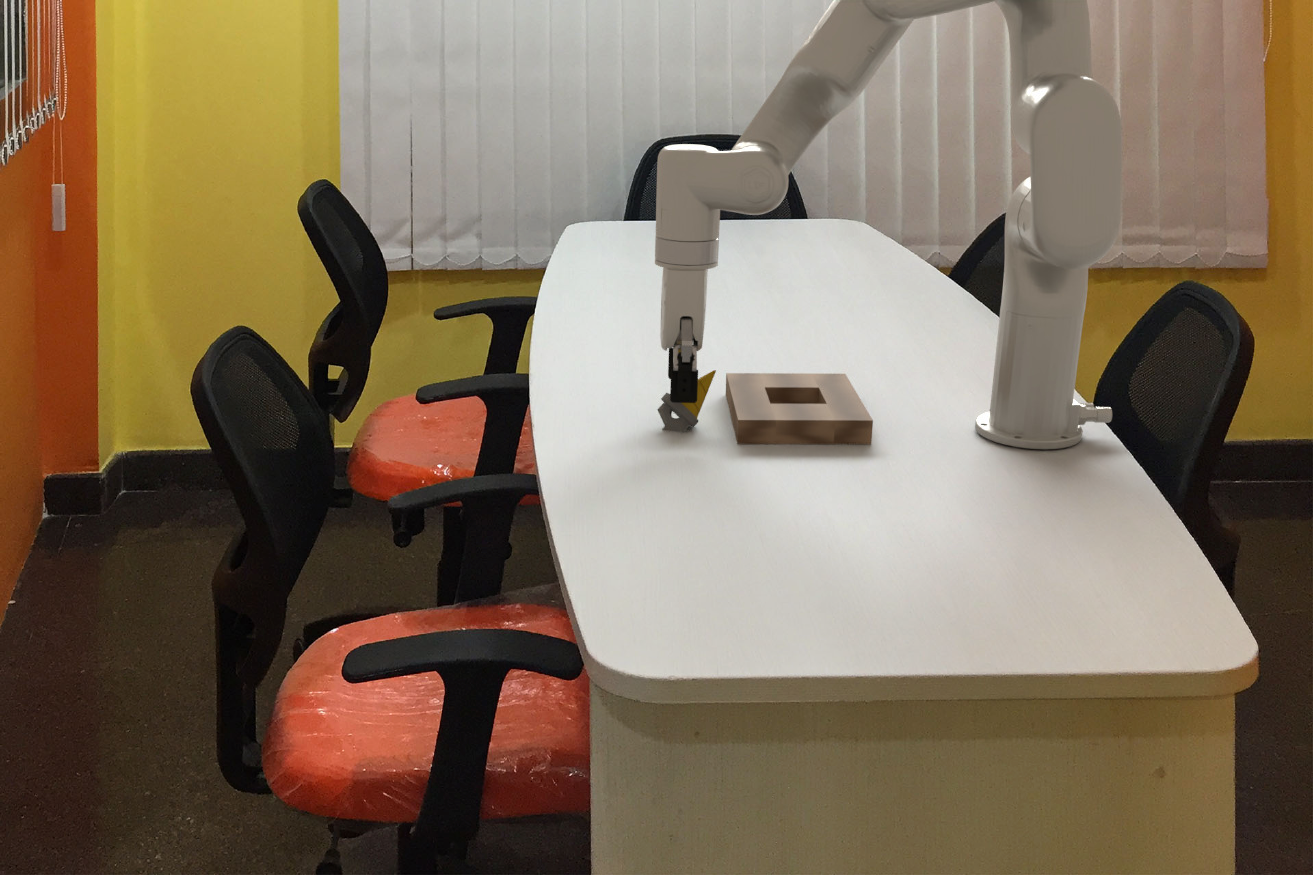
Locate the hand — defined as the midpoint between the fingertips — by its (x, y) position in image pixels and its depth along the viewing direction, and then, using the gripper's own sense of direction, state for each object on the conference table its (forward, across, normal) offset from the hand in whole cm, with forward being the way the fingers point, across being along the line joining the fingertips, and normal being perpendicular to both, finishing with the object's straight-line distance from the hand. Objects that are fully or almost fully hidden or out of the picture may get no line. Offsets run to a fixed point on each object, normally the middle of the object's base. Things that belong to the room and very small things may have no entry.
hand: (682, 390), depth 148 cm
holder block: (+4, -3, +14) cm, 15 cm away
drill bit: (+5, 0, 0) cm, 5 cm away
